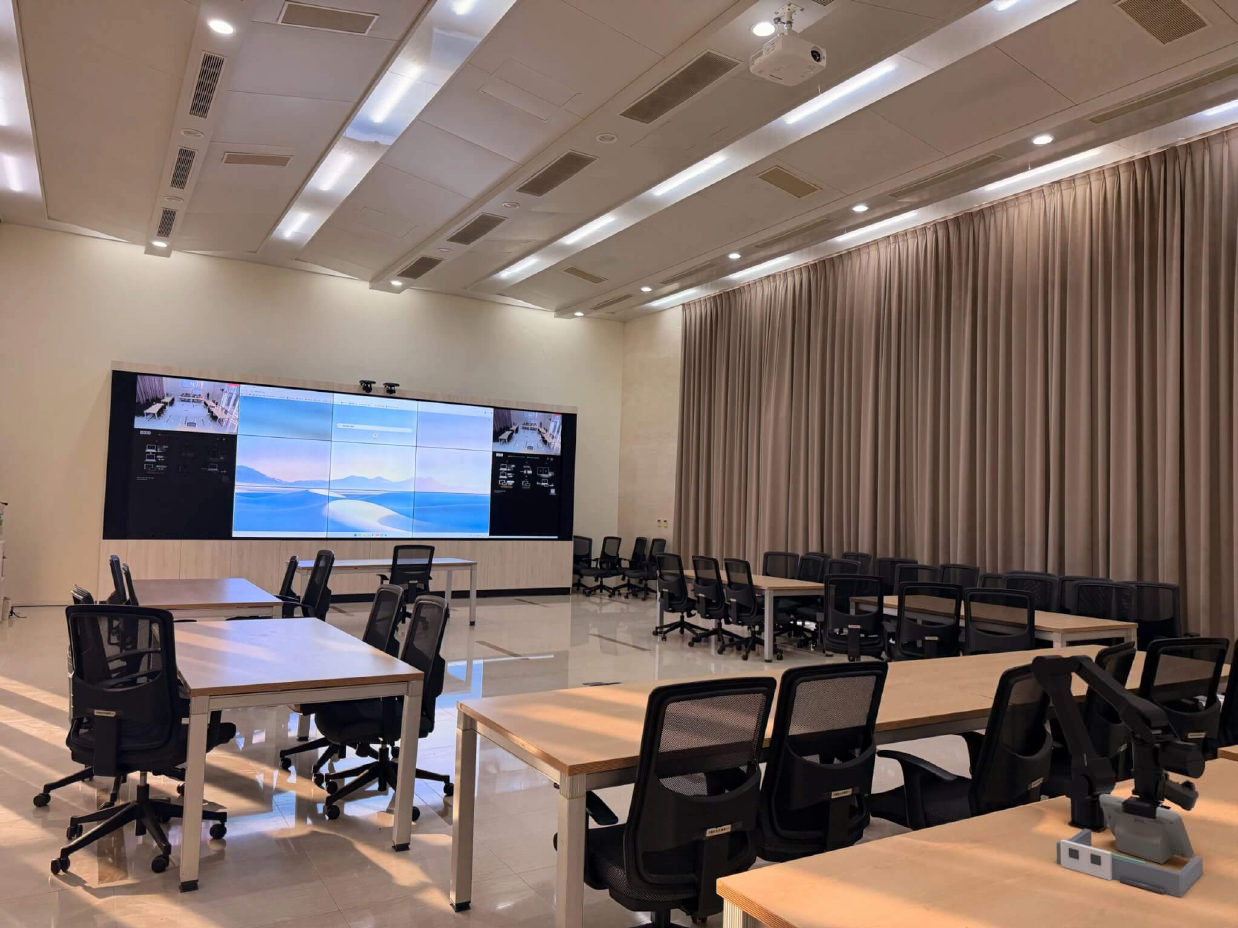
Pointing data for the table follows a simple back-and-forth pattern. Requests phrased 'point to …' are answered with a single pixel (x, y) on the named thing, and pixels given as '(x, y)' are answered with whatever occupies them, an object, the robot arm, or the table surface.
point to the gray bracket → (1125, 867)
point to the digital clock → (1146, 832)
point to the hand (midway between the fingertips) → (1152, 840)
